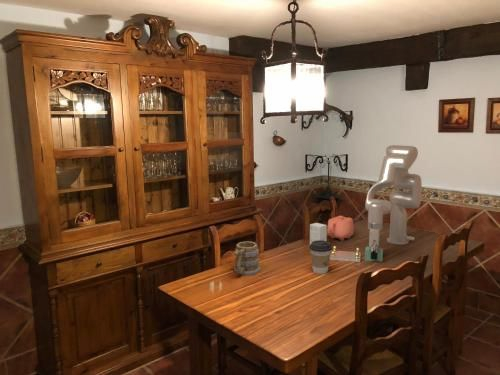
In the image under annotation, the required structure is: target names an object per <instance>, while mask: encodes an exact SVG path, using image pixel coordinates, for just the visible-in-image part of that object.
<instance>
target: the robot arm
mask: <svg viewBox="0 0 500 375" xmlns="http://www.w3.org/2000/svg"><path fill="white" fill-rule="evenodd" d="M418 151H419V150H418V148H417V147H416V146H414V145H413V146H412V145H397V144H396V145H395V144H394V145H388V146H387V147H386V149H385V154H386V155H385V156H384V157H383V160H382V164H381V168H380V172H379V177H378V180H377V181H376V182H375V183H374V184H373V185H372V186H371V187H370V188H369V189H368V192H367V194H366V199H365V203H364V204H365V206H364V209H365V210H366V211H367V229H368V230H369V233H368V247H372V252H371V259H374V260H377V248H379V245H380V237H381V236H380V233H381V230H383V220H384V219H383V218H384V215H388V214H390V222H389V223H390V224H389V237H387V238H386V242H387V243H389V244H392V245H397V246H398V245H399V246H400V245H401V246H402V245H408V244H409V241H415V237H414V236H412V235H411V236H410V235H409V236H408V235H407V227H408V224H407V223H408V212H407V210H406V209H419V208H420V206H421V202H422V178H421V176H420V175H419V174H416V173H409V170H410V169H411V167H412V166H413V164H414V163H415V162H416V159H417V158H418V155H419V152H418ZM391 186H393V187H394V188H395V189H398V190H393V191H392V192H391V193H390V194H389V200H386V199H380V198H379V199H378V198H374V197H375V196H376V194H377V193H378V192H379V191H381V190H382V189H385V188H387V187H391ZM405 190H406V191H405ZM407 190H408V191H407Z"/></svg>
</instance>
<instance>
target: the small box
mask: <svg viewBox="0 0 500 375" xmlns="http://www.w3.org/2000/svg"><path fill="white" fill-rule="evenodd" d="M327 227H328V224H325V223H324V224H323V223H319V222H314V223H311V224H309V246H310V245H311V243H312V242H313V241H317V240H323V241H327V238H328V235H327Z"/></svg>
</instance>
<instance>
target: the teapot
mask: <svg viewBox="0 0 500 375" xmlns="http://www.w3.org/2000/svg"><path fill="white" fill-rule="evenodd" d="M354 227H355V226H354V219H353V218H352V217H345V216H344V215H338V216H335V217H333V218H329V219H328V221H327V237H329V238H330V239H338V240H339V242H340V241H341V242H344V241H345V239H351V237H352V236H353V235H354V232H355V230H354V229H355V228H354Z"/></svg>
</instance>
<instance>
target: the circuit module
mask: <svg viewBox="0 0 500 375" xmlns="http://www.w3.org/2000/svg"><path fill="white" fill-rule="evenodd" d="M371 252H372V247H369V246H365V251H364V261H370V262H380V263H381V262H383V260H384V259H383V257H384V254H383V253H384V248H382V247H378V248H377V260H374V259H371Z"/></svg>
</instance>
